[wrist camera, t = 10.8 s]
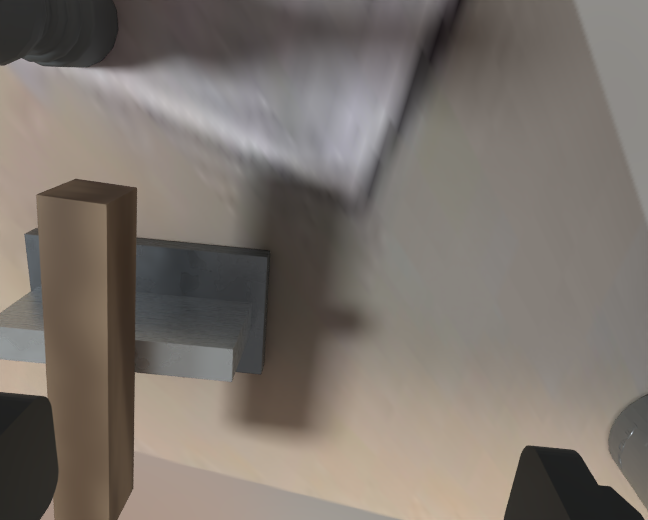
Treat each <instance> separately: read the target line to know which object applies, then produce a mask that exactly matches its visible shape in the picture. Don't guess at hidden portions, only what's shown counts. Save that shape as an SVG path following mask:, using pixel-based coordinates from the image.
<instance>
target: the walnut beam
mask: <svg viewBox="0 0 648 520" xmlns="http://www.w3.org/2000/svg"><path fill="white" fill-rule="evenodd" d="M36 198H37V216H38V234H39V251H40V269H41V287H42V305H43V322H44V340H45V358H46V376H47V394H48V399H49V401H50V403H51V407H52V414H53V423H54V432H55V440H56V449H57V458H58V468H59V473H58V482H57V486H56V490H55V493H54V496H53V499H54V518H55V520H117V519H118V517H119V515H120V513H121V511H122V510H123V508H124V505H125V504H126V502H127V500H128V498H129V496H130V494H131V492H132V489H133V467H134V463H133V461H134V459H133V457H134V386H135V305H136V224H137V188H136V187H129V186H122V185H115V184H108V183H101V182H94V181H87V180H80V179H74V180H72V181H69V182H67V183H64V184H62V185H59V186H57V187H54V188H52V189H49V190H47V191H44V192H42V193H39V194H37V195H36Z"/></svg>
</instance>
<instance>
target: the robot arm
mask: <svg viewBox="0 0 648 520" xmlns="http://www.w3.org/2000/svg"><path fill="white" fill-rule="evenodd" d="M608 442H609V451H610V454H611V456H612V459H613V460H614V461H615V463H616V464H617V466H618V467H619V469H620V470H621V472H622V473H623V475H624V476H625V478H626V479H627V481H628V482H629V484H630V485H631V487H632V488H633V490H634V491H635V492H636V494H637V496H638V497H639V499H640V500H641V502H642V503H643V505H644V506H645V507H646V509H647V510H648V395H646V396H644V397H642V398H640V399H638V400H637V401H635V402H633V403H632V404H630V405H629V406H628V407H627V408H626V409H625V410H624V411H622V412H621V414H620V415H619V416H618V418H617V419H616V420H615V422H614V424H613V426H612V428H611V430H610V435H609V439H608ZM58 473H59V468H58V458H57V449H56V440H55V432H54V423H53V414H52V407H51V403H50V401H49V399H48V398H47V397H44V396H35V395H25V394H15V393H5V392H0V520H40V519H41V517H42V516H43V514H44V513H45V511H46V510H47V508H48V507H49V505H50V503H51V500H52V498H53V496H54V493H55V490H56V486H57V482H58ZM504 520H644V518H643V517H642V515H641V514H640V513H639V512H638V511H637V510H636V509H635V508H634V507H633V506H631V505H630V504H629V503H628V502H627V501H626V500H625V499H624V498H623V497H621V496H620V495H619V494H618V493H617V492H616V491H615V490H614V489H613V488H611V487H610V486H600V485H598V484H597V482H596V480H595V479H594V477H593V475H592V474H591V472H590V471H589V469H588V467H587V466H586V464H585V462H584V461H583V459H582V457H581V456H580V455H579V454H578V453H577V452H576V451H574V450H569V449H559V448H549V447H539V446H526V447H525V448H524V449H523V451H522V453H521V456H520V460H519V463H518V467H517V471H516V475H515V478H514V482H513V486H512V489H511V493H510V497H509V500H508V504H507V508H506V512H505V516H504Z"/></svg>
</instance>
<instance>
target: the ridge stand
mask: <svg viewBox="0 0 648 520" xmlns="http://www.w3.org/2000/svg"><path fill="white" fill-rule="evenodd" d="M24 235H25V243H26V252H27V260H28V269H29V277H30V286H31V292H29V293H28V294H26V295H25V296H23V297H22V298H21V299H19V300H18V301H16V302H15V303H13V304H12V305H11V306H9V307H8V308H6V309H5V310H3V311H2V312H1V313H0V359H4V360H14V361H25V362H35V363H45V364H46V358H45V340H44V322H43V305H42V287H41V269H40V251H39V234H38V228H35V229H33V230H31V231H29V232H28V233H26V234H24ZM269 263H270V251H268V250H257V249H247V248H237V247H226V246H216V245H205V244H195V243H184V242H174V241H164V240H153V239H143V238H136V305H135V372H137V373H147V374H158V375H168V376H178V377H188V378H198V379H209V380H219V381H229V382H232V380H233V377H234V375H235V372H242V373H252V374H261V373H262V370H263V366H264V355H265V336H266V318H267V300H268V281H269Z"/></svg>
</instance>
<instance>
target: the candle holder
mask: <svg viewBox="0 0 648 520" xmlns="http://www.w3.org/2000/svg"><path fill="white" fill-rule="evenodd" d="M117 32H118V23H117V11H116V8H115V6H114V3H113V1H112V0H0V65H7V64H9V63H11V62H13V61H16V60H18V59H20V58H23V59H25V60H27V61H29V62H35V63H37V64H39V65H42V66H52V67H88V66H90V65H93V64H95V63H97V62H100V61H102V60H103V59H104V58H105V56H106V55H107V54H108V53H109V52H110V51H111V49H112V48H113V46H114V42H115V39H116V36H117Z"/></svg>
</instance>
